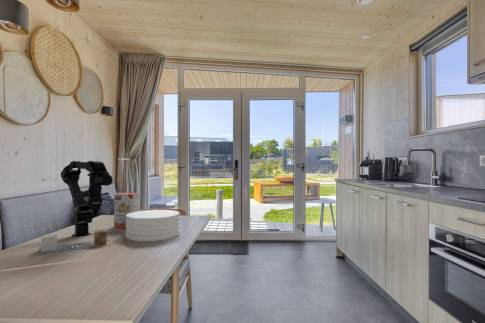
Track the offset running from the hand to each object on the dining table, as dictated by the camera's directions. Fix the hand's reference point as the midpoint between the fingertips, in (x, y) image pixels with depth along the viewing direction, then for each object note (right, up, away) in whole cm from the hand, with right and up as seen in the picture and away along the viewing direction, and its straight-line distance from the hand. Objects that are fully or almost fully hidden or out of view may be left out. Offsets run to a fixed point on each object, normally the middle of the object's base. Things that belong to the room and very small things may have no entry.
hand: (95, 214), depth 142 cm
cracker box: (+6, -13, +25) cm, 29 cm away
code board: (+1, -12, -18) cm, 21 cm away
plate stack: (+28, -13, +9) cm, 32 cm away
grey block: (-8, -11, -23) cm, 26 cm away
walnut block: (+10, -11, -13) cm, 19 cm away
